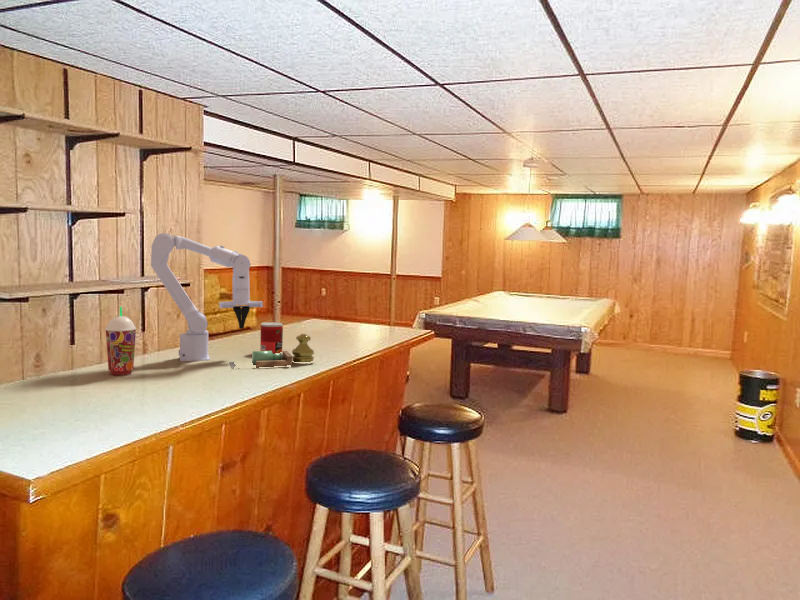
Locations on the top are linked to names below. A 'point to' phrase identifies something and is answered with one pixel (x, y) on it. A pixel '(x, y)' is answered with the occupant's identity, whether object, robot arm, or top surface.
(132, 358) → the smoothie
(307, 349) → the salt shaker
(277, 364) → the cradle
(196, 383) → the top surface
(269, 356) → the bottle
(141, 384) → the top surface
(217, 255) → the robot arm
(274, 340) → the canned food
